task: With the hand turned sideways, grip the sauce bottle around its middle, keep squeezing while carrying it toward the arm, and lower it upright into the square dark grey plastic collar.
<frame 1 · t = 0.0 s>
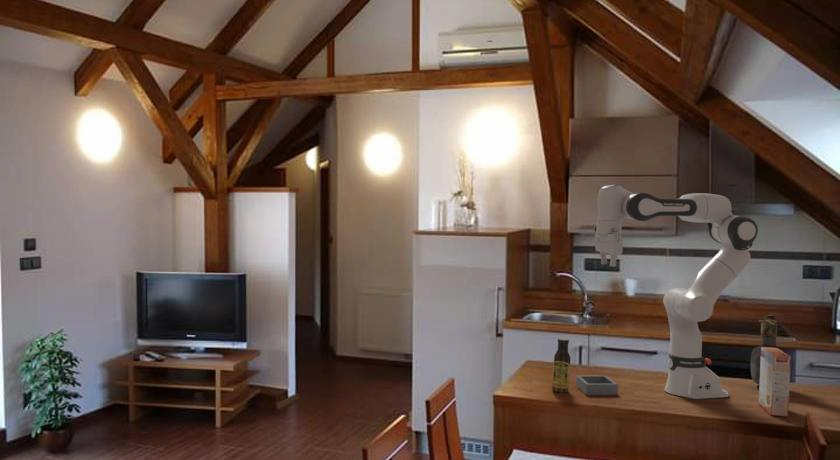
hand: (608, 265, 253), 48 cm above the table, tool pointing down, fingers open, 8 cm apart
sauce bottle: (560, 391, 255), on the table
cracker box: (773, 411, 235), on the table
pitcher: (766, 389, 263), on the table
bottle collar: (596, 390, 257), on the table
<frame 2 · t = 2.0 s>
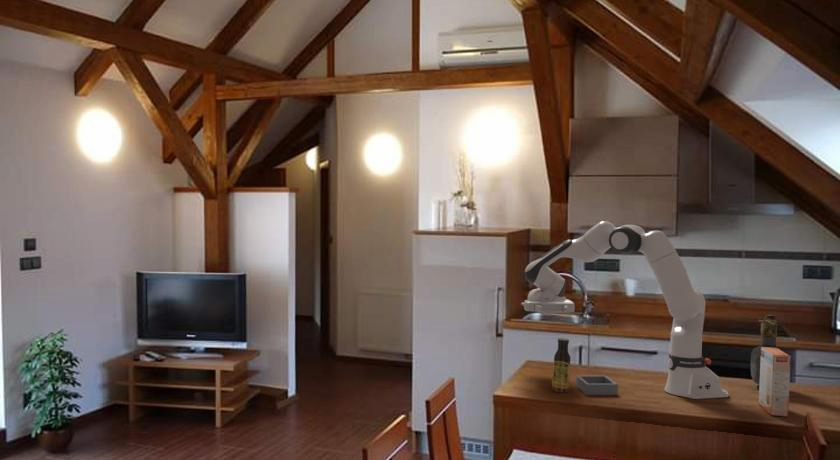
hand: (553, 309, 267), 29 cm above the table, tool horizontal, fingers open, 8 cm apart
nothing on the table moved.
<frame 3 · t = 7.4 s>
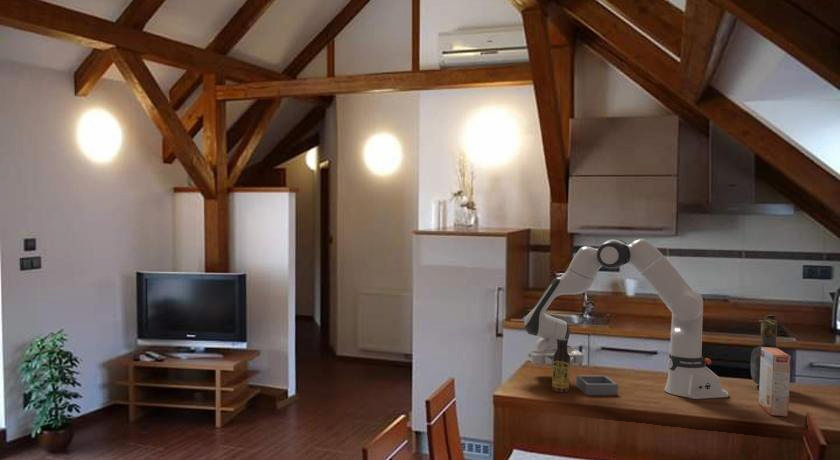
hand: (561, 362, 255), 11 cm above the table, tool horizontal, fingers closed on sauce bottle, 6 cm apart
sauce bottle: (560, 391, 255), on the table, touching gripper
everything else where it was.
when the fingers open (12 cm above the table, at t = 13.8 s): sauce bottle drops 1 cm, resting in bottle collar.
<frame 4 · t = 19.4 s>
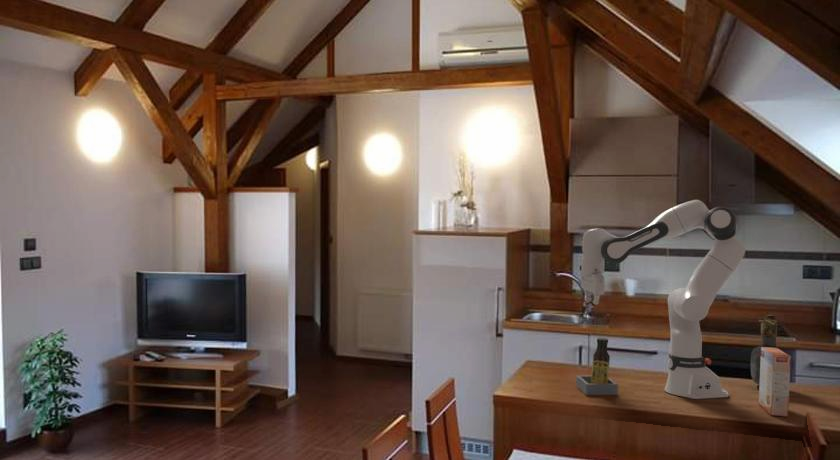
hand: (592, 302, 273), 31 cm above the table, tool pointing down, fingers open, 8 cm apart
sauce bottle: (599, 390, 257), resting in bottle collar
everything else where it was.
at the end: sauce bottle 1.3 cm off-centre on the bottle collar, point 0.0 cm above the bottle collar's base; sauce bottle tilted 0°; the gripper is holding nothing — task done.
